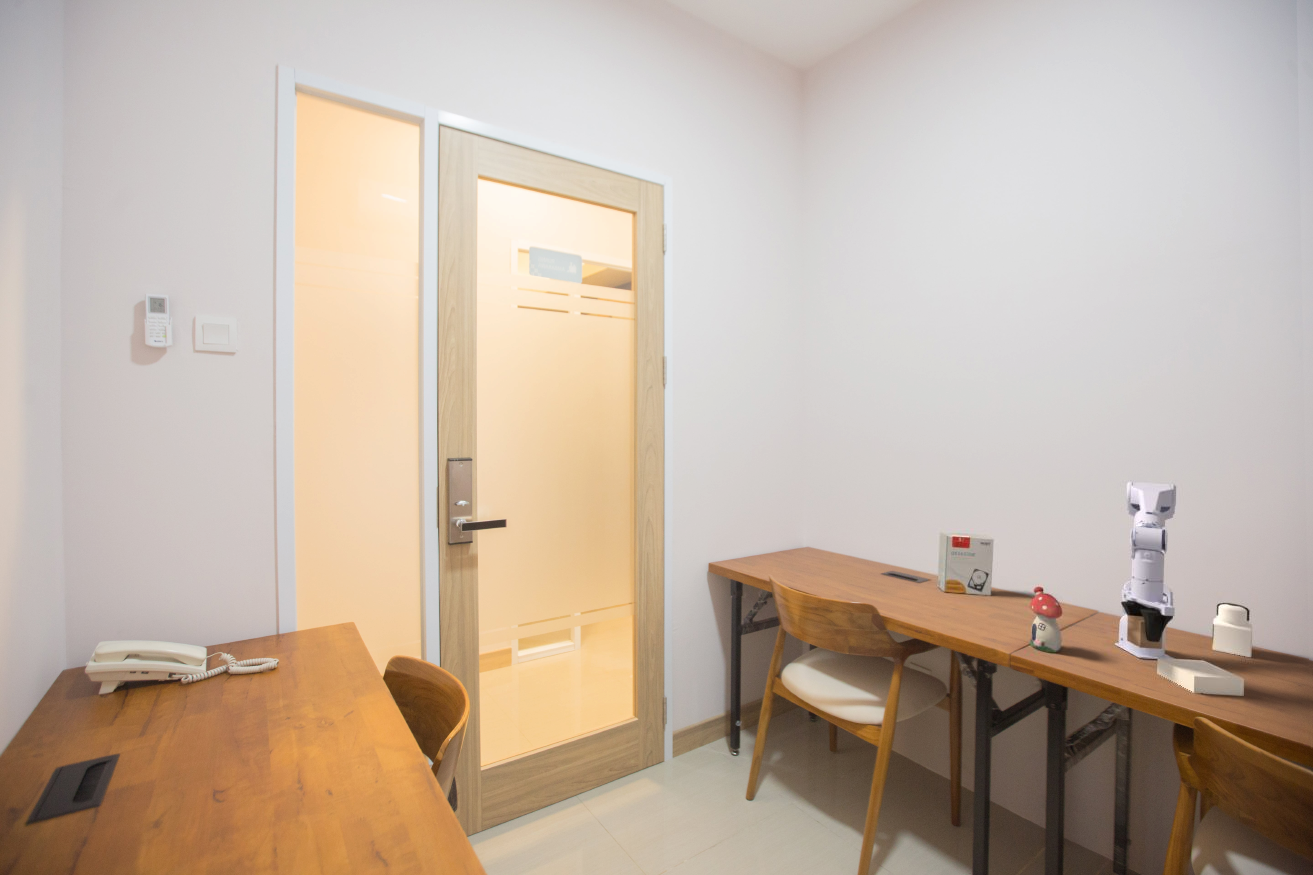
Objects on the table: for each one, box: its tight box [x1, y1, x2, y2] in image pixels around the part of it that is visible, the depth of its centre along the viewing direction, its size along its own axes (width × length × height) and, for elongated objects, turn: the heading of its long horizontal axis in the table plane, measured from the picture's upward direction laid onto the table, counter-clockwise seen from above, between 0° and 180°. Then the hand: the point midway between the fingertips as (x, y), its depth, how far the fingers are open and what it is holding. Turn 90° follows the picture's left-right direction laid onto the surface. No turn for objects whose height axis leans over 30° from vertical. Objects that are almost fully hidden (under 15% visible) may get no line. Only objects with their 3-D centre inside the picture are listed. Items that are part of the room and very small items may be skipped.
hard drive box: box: [937, 531, 995, 597], centre depth 203 cm, size 16×8×20 cm, turn 81°
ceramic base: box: [1156, 658, 1245, 697], centre depth 129 cm, size 10×10×4 cm
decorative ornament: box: [1029, 586, 1063, 653], centre depth 150 cm, size 9×6×15 cm
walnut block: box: [1127, 616, 1162, 649], centre depth 134 cm, size 4×4×6 cm
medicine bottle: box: [1211, 602, 1253, 658], centre depth 151 cm, size 7×7×12 cm
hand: (1145, 637), depth 134 cm, fingers closed on walnut block, 4 cm apart
